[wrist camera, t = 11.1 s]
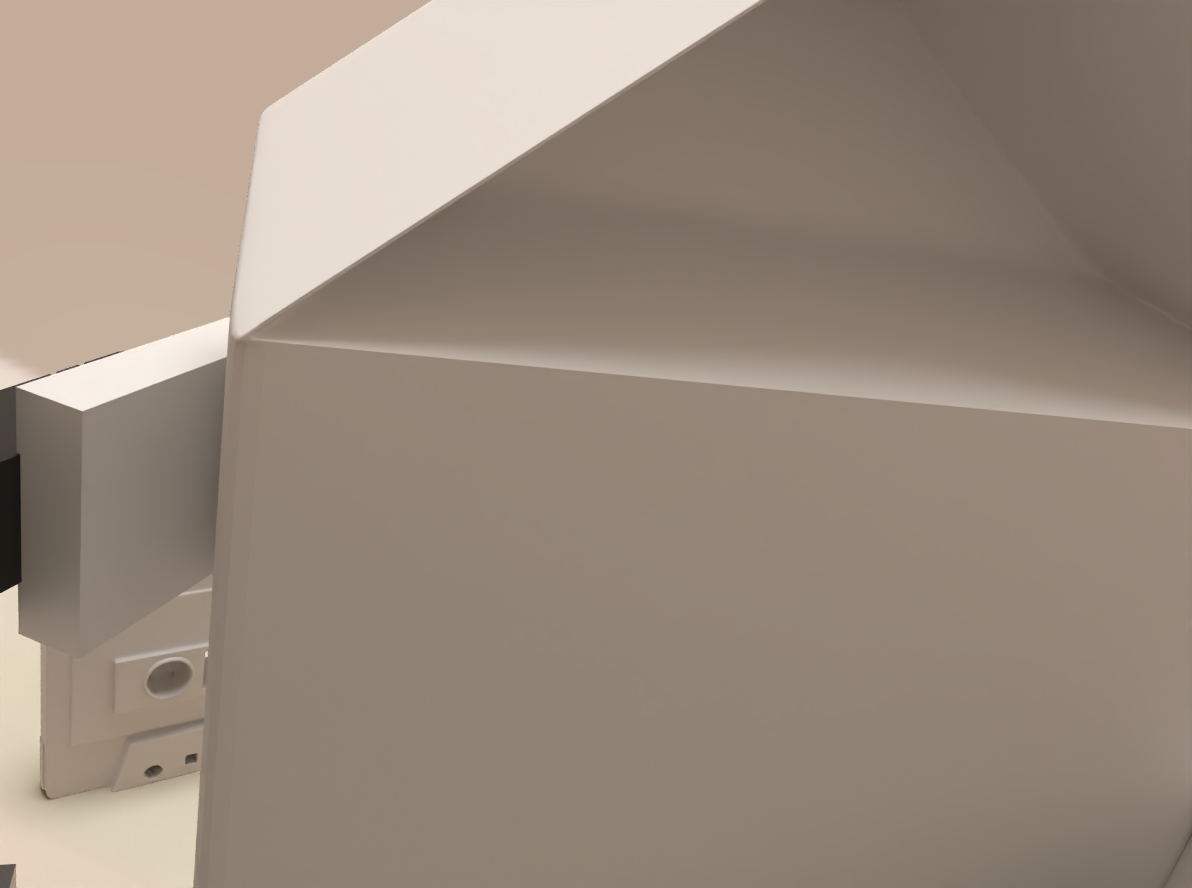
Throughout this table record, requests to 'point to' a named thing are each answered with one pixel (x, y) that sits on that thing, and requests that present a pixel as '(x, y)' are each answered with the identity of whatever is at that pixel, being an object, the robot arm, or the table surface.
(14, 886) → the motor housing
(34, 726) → the table surface
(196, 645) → the cassette
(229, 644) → the milk carton
